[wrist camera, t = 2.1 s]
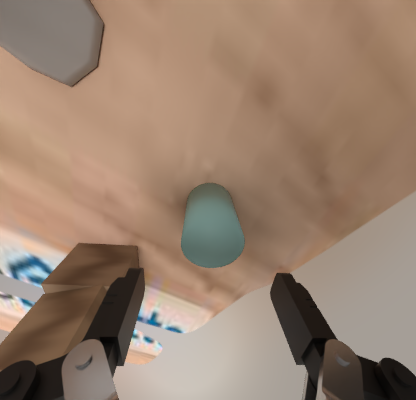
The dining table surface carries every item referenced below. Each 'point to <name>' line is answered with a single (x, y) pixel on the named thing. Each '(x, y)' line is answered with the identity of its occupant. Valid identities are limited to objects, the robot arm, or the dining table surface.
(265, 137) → the dining table surface
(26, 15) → the flask
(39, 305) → the tower top
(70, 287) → the tower base
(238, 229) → the cylinder
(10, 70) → the dining table surface
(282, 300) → the robot arm
